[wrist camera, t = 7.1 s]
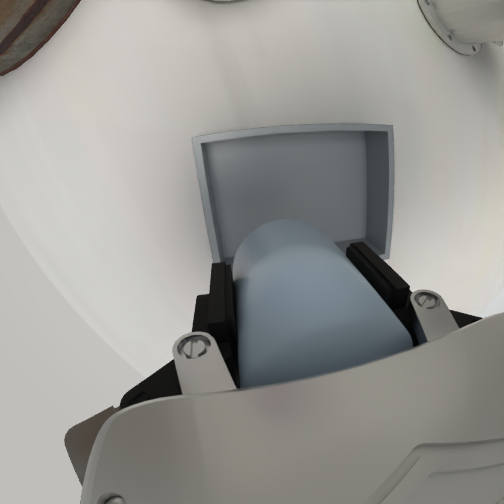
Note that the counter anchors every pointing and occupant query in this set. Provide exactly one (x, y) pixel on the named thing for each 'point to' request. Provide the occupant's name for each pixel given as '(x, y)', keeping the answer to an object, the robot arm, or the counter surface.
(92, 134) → the counter surface
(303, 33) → the counter surface
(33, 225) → the counter surface
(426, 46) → the counter surface
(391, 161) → the tote
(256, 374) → the blue cylinder
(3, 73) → the barrel
